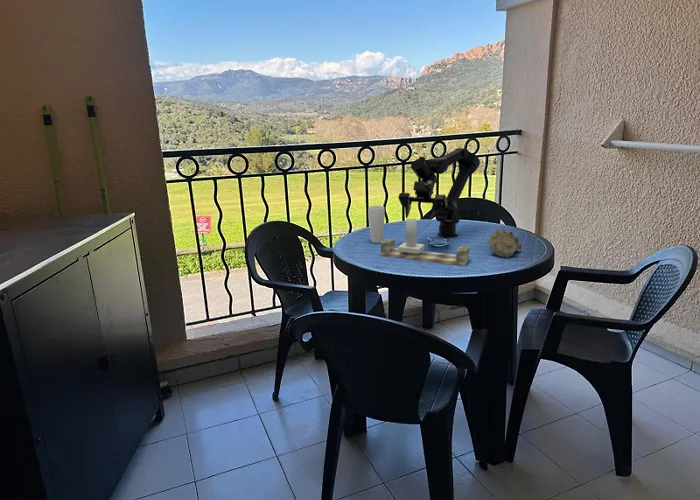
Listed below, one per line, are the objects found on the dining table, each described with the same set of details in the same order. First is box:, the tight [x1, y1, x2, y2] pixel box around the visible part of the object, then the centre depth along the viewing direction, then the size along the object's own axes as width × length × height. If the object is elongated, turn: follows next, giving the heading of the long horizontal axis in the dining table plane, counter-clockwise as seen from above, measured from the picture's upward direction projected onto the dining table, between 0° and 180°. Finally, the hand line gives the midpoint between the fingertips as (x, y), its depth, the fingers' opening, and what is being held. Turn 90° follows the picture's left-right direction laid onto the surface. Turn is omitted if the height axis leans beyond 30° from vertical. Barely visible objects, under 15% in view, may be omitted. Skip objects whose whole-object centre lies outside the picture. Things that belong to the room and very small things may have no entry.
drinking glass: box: [367, 205, 386, 244], centre depth 185 cm, size 7×7×15 cm
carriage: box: [397, 218, 425, 253], centre depth 164 cm, size 8×7×12 cm
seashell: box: [488, 228, 523, 258], centre depth 165 cm, size 11×14×10 cm
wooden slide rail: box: [379, 237, 471, 267], centre depth 164 cm, size 32×8×6 cm, turn 63°
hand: (417, 218), depth 169 cm, fingers open, 9 cm apart
